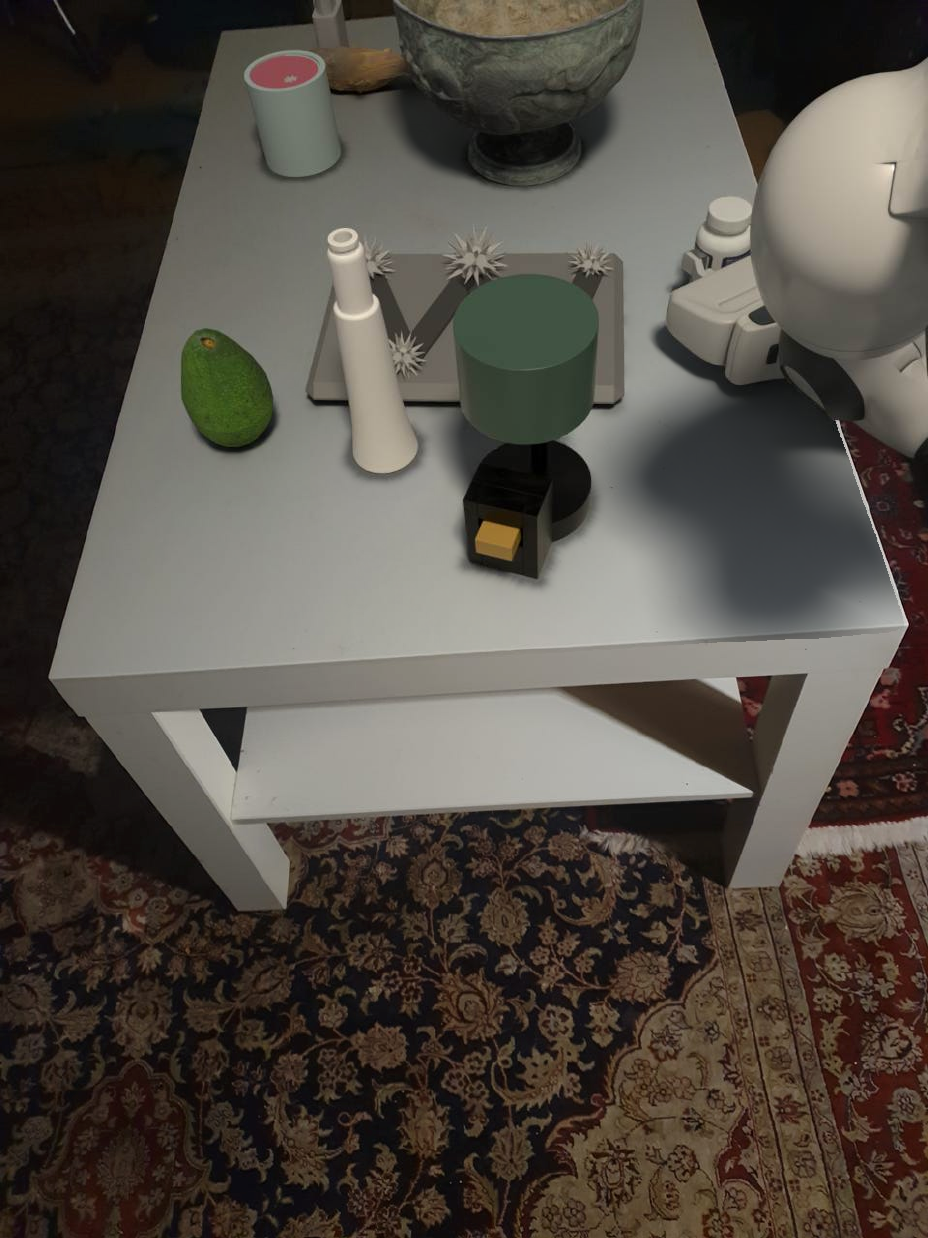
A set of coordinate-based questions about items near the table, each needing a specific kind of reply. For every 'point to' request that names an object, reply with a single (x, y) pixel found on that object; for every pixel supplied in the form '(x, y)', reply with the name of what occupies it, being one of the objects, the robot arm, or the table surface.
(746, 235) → the pill bottle
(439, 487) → the table surface
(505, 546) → the lamp switch
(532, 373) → the desk lamp
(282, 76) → the mug
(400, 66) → the bird model
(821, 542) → the table surface
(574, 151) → the decorative bowl
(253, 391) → the fruit
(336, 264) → the cosmetic bottle
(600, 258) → the decorative plate
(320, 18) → the power adapter
